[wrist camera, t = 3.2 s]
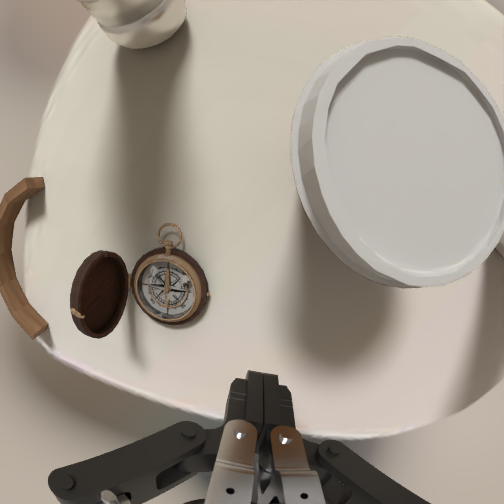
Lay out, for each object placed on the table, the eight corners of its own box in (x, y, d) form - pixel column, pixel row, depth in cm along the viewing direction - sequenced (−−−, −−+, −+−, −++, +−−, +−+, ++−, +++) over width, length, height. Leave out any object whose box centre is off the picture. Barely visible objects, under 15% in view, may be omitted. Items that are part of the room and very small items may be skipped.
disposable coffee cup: (422, 169, 18) (541, 168, 7) (349, 262, 20) (430, 347, 8) (331, 82, 17) (394, -11, 6) (248, 177, 19) (222, 164, 7)
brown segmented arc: (45, 177, 20) (27, 178, 17) (49, 330, 23) (35, 341, 21) (8, 174, 20) (-8, 175, 17) (13, 312, 23) (0, 320, 21)
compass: (207, 326, 22) (184, 382, 15) (119, 308, 22) (73, 350, 15) (216, 226, 20) (190, 249, 13) (119, 215, 20) (61, 230, 13)
